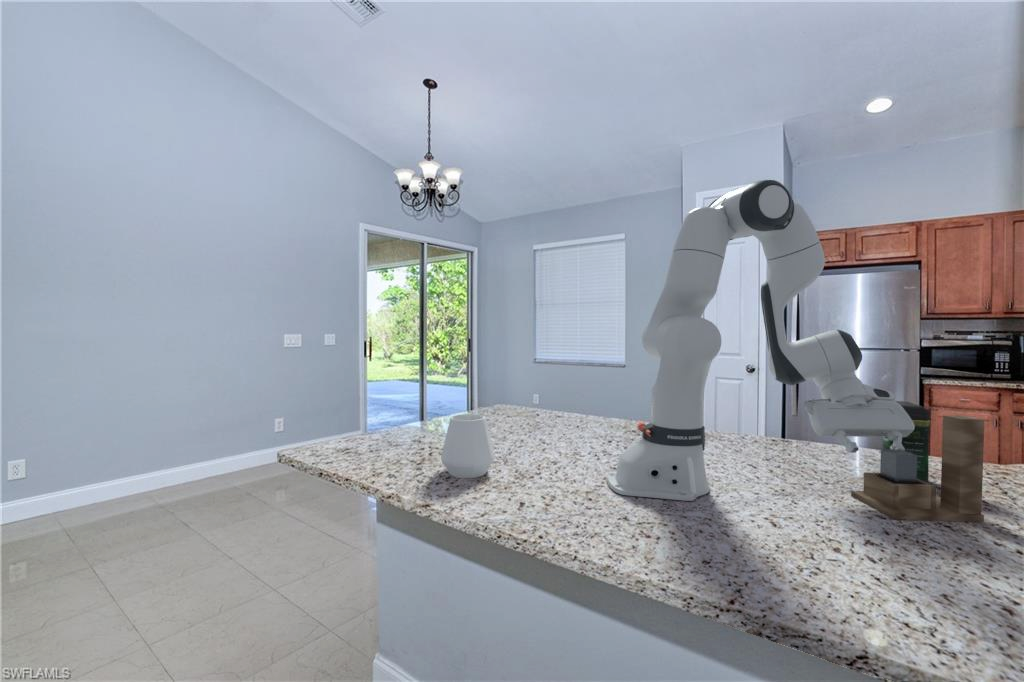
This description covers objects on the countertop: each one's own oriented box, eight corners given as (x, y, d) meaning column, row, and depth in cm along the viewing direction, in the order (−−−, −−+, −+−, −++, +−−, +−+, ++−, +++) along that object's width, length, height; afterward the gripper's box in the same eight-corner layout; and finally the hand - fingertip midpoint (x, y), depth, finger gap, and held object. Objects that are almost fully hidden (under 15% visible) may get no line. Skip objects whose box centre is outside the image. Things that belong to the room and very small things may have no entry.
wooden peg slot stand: (894, 519, 86) (897, 418, 86) (851, 496, 98) (853, 407, 98) (983, 521, 85) (987, 420, 85) (928, 497, 97) (931, 408, 97)
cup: (486, 462, 122) (486, 410, 122) (501, 478, 109) (501, 420, 109) (436, 466, 118) (436, 413, 118) (446, 483, 105) (446, 424, 105)
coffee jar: (934, 487, 104) (937, 406, 103) (891, 482, 107) (893, 404, 106) (915, 474, 113) (917, 400, 112) (876, 470, 116) (878, 398, 115)
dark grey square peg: (894, 504, 90) (896, 454, 90) (879, 496, 94) (880, 449, 94) (915, 504, 90) (917, 454, 90) (899, 497, 94) (900, 449, 94)
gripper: (807, 391, 106) (833, 443, 97) (899, 392, 105) (935, 445, 95) (796, 406, 111) (819, 458, 101) (884, 407, 109) (916, 459, 100)
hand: (876, 451), depth 98 cm, fingers open, 8 cm apart
